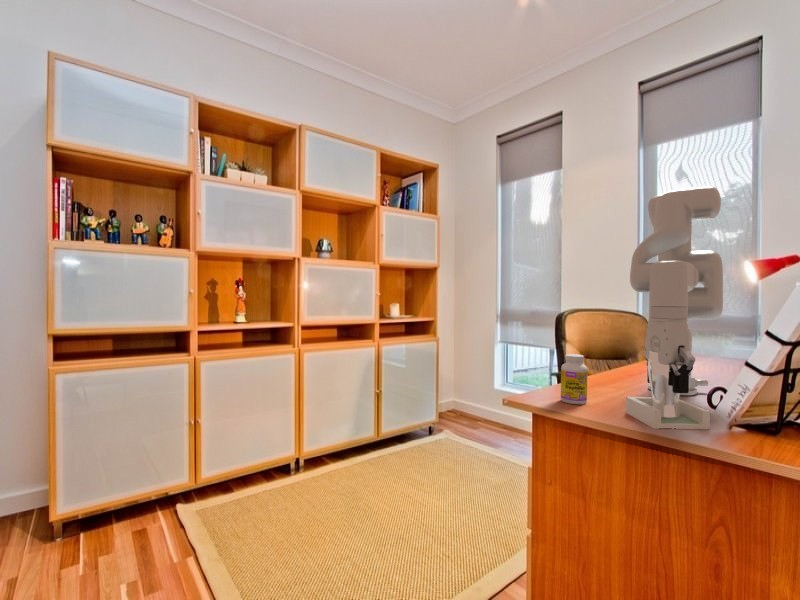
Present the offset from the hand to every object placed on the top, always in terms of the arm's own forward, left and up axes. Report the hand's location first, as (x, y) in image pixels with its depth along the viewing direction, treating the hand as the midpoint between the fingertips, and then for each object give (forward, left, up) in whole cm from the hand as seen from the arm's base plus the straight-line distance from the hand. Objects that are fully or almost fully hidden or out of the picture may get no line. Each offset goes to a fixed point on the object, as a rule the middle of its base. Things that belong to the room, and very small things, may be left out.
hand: (666, 387), depth 96 cm
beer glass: (0, -1, -7) cm, 7 cm away
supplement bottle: (+15, -16, -8) cm, 24 cm away
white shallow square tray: (0, 0, -8) cm, 8 cm away
